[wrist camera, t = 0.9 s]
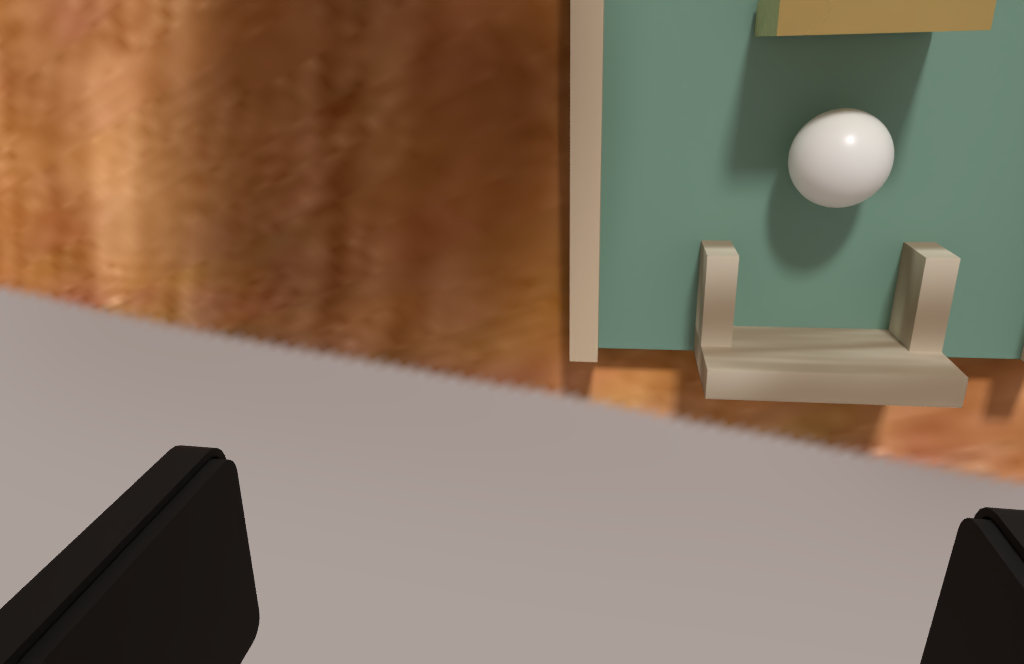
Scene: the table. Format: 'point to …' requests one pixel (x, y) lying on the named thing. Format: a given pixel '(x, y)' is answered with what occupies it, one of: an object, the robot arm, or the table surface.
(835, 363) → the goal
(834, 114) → the ball
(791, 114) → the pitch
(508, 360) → the table surface
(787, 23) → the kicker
